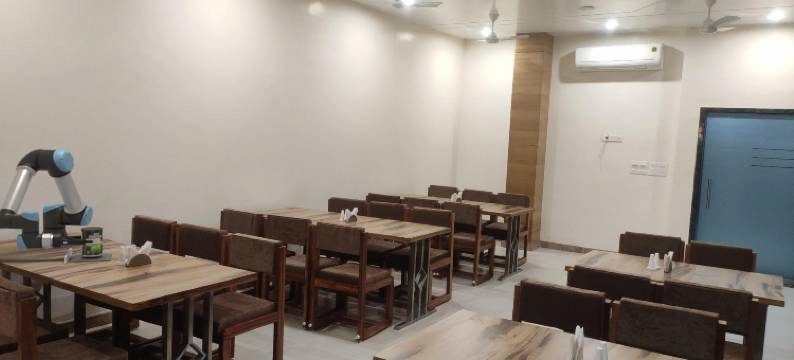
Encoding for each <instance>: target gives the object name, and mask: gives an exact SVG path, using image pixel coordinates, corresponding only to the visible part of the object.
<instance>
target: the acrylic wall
mask: <svg viewBox="0 0 794 360" xmlns="http://www.w3.org/2000/svg"><path fill="white" fill-rule="evenodd" d="M72 256H73V248H72V247H70V248H69V249H68V251H67V252H66V254H65V255H64V257H63V264H64V265H66V264H67V263H68V262H69V260H70V259H71V257H72Z"/></svg>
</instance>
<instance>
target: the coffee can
mask: <svg viewBox="0 0 794 360" xmlns="http://www.w3.org/2000/svg"><path fill="white" fill-rule="evenodd" d="M103 230H104V228H103V227H99V226H87V227H82V228H81V229H80V235H81V239H96V238H100V244H86V246H84V245H80V254H81V256H84V257H94V256H100V255H103V253H104V251H103V242H104V241H103V236H104V235H103V234H104V233H103V232H104V231H103Z"/></svg>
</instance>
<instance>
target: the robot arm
mask: <svg viewBox="0 0 794 360" xmlns="http://www.w3.org/2000/svg"><path fill="white" fill-rule="evenodd" d="M74 166H75V161H74V157H73V155H72V154H71V152H69V151H68V150H64V149H42V148H41V149H40V148H39V149H33V150H31V151H29V152H28V153H27V154H24V156H22V158H21V159H20V160H19V162H18V163H17V165H16V167H15V171H16V172H15V175H14V177H13V180H12V181H11V182H12V183H11V185H10V187H9V189H8V192H7V194H6V196H5V198H4V201H3V203H2V204H1V207H0V230H7V229H8V230H21V234H18V235H16V247H17V249H19V250H34V249H35V250H36V249H37V250H38V249H39V250H40V249H45V250H48V249H52V248H53V249H61V248H62V247H63V246H81V245H84V246H86V244H100V238H96V239H81V234H79V235H68V232H67V230H66V227H67V226H69V227H70V226H71V227H73V226H75V227H86V226H87V227H88V225H90V224H91V222H92V219H93V213H94V211H93V207H92V206H89V205H87V204H86V202H85V201H84V200H82V199H81V197H80V193H79V191H78V188H77V187H76V184H75V181H74V179H73V176H72V173H71V172H72V171H73V169H74ZM39 171H41V172H47V173H48V175H49V177H50V178H53V180H54V181H55V184H56V187H57V189H58V191H59V193H60V196H61V198H62V200H63V202H61V203H59V202H58V203H53V204H47V205H44V206H43V207H42V232H41V233H40V214H39V211H38V210H35V209H33V210H32V209H31V210H22V211H21V214H20V213H18V212H19V209H20V207H21V205H22V202H23V201H24V198H25V196H26V193H27V192H28V188H29V185H30V184H31V182H32V179H33V177H34V176H36V175H37V172H39Z"/></svg>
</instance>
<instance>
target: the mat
mask: <svg viewBox="0 0 794 360" xmlns="http://www.w3.org/2000/svg"><path fill="white" fill-rule="evenodd" d="M112 255H113V252H110V253H109V252H107V253H104V252H103V255H100V256H94V257H84V256H81V253H79V254H74V255H73V257H72V259H71V260H70V263H90V262H91V263H96V262H110V261H111V258H112Z"/></svg>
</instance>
